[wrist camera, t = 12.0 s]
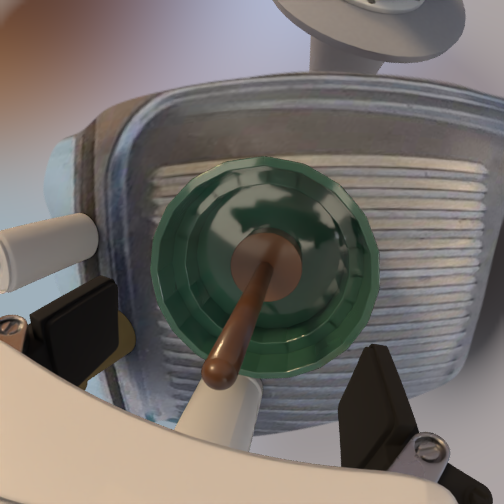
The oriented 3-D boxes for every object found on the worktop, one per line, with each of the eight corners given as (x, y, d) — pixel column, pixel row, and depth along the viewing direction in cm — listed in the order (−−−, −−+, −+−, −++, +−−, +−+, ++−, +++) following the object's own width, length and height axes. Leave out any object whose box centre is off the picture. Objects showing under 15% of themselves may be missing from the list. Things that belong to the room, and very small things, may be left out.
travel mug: (190, 383, 29) (101, 536, 10) (227, 348, 27) (135, 536, 8) (235, 415, 29) (180, 573, 10) (276, 386, 27) (236, 576, 8)
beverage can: (108, 248, 27) (17, 285, 15) (79, 264, 28) (-4, 302, 16) (90, 204, 26) (-5, 222, 15) (63, 224, 27) (-24, 248, 16)
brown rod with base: (243, 221, 23) (141, 289, 8) (308, 235, 23) (319, 334, 8) (232, 282, 25) (142, 409, 10) (293, 297, 24) (276, 448, 9)
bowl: (197, 151, 23) (166, 142, 18) (380, 188, 22) (405, 189, 16) (175, 315, 27) (146, 346, 21) (333, 354, 25) (338, 394, 20)
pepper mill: (105, 294, 28) (33, 340, 18) (145, 336, 28) (84, 397, 18) (85, 325, 30) (22, 371, 19) (120, 363, 30) (66, 419, 19)
